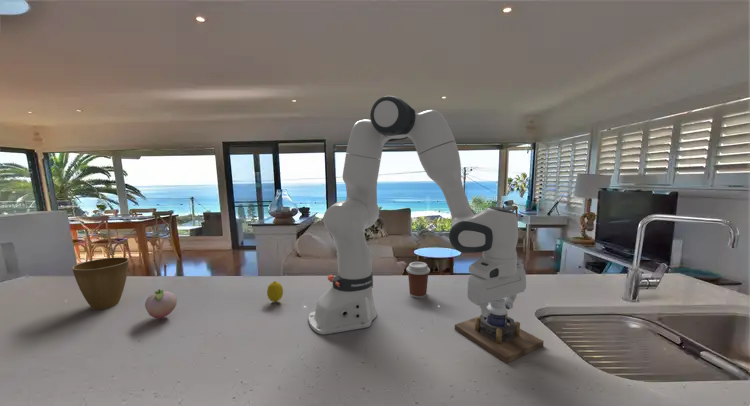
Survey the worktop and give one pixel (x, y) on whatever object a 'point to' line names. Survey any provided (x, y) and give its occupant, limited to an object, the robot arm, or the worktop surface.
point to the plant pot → (102, 281)
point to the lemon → (275, 291)
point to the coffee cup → (418, 279)
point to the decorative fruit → (160, 304)
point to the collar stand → (499, 338)
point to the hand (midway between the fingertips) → (497, 312)
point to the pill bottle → (497, 314)
